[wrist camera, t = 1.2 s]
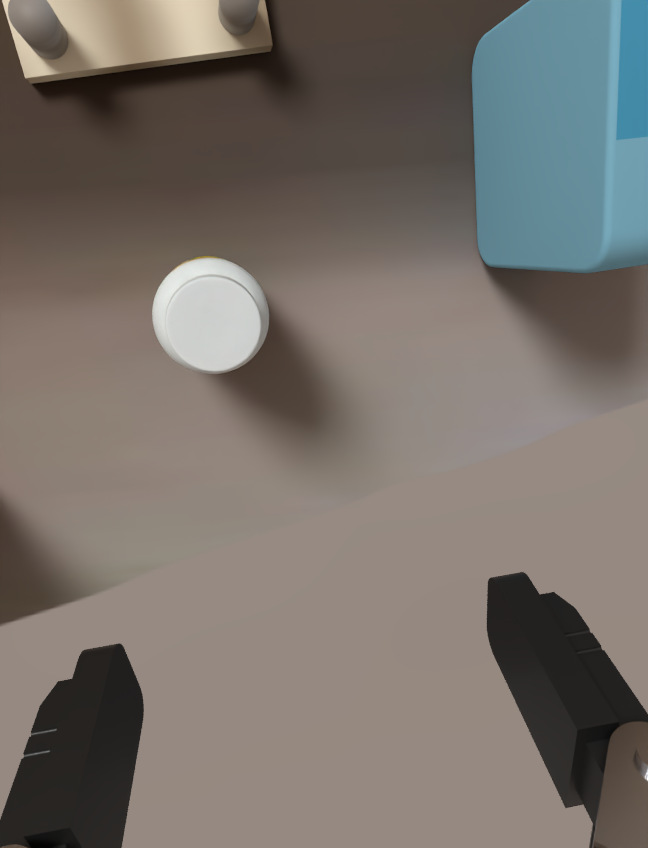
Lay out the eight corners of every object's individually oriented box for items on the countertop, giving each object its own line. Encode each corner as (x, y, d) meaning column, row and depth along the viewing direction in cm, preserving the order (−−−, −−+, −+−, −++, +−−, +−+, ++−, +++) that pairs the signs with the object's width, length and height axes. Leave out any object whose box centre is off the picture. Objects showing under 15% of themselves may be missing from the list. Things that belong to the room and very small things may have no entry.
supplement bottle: (154, 342, 33) (137, 377, 24) (167, 246, 31) (153, 245, 22) (248, 357, 34) (265, 397, 25) (264, 266, 33) (287, 273, 24)
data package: (543, 257, 36) (697, 261, 25) (476, 266, 35) (604, 275, 24) (543, 38, 32) (726, -74, 21) (469, 43, 32) (616, -69, 20)
